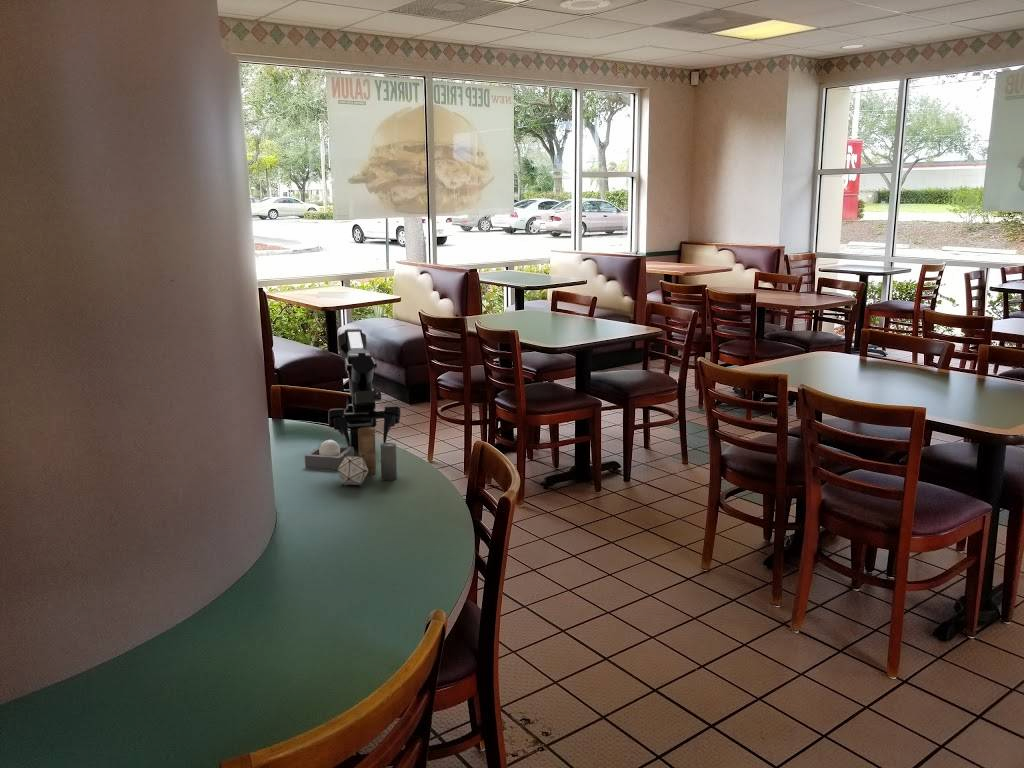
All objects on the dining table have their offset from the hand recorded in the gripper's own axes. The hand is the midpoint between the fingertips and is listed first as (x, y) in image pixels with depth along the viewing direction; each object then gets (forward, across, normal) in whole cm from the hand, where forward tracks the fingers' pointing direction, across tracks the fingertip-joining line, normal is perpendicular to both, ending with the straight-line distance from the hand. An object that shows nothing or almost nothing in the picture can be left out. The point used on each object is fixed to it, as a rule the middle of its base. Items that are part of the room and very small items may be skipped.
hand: (366, 444), depth 217 cm
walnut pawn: (+5, 0, +6) cm, 8 cm away
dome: (-3, -9, +14) cm, 17 cm away
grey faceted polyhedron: (+12, -4, 0) cm, 12 cm away
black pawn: (+9, +5, +2) cm, 11 cm away
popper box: (-3, -9, +14) cm, 17 cm away
